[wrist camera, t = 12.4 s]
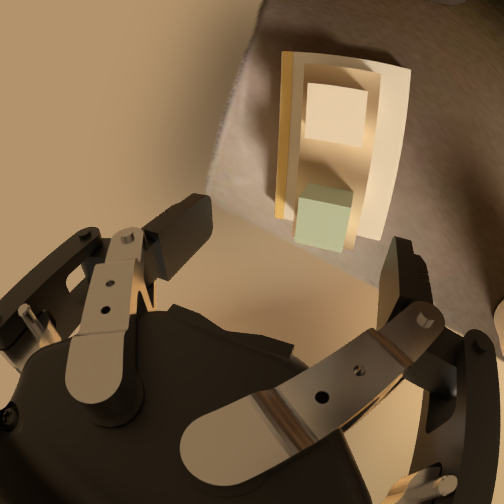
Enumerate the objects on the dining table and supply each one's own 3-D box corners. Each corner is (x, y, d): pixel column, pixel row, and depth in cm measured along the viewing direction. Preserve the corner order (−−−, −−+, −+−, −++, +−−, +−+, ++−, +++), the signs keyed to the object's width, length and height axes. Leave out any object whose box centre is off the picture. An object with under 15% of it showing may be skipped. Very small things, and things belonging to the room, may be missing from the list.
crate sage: (308, 182, 23) (298, 197, 20) (353, 191, 22) (351, 208, 19) (303, 223, 25) (294, 242, 23) (345, 232, 24) (341, 253, 21)
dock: (288, 54, 22) (281, 51, 20) (406, 71, 19) (410, 69, 17) (280, 207, 33) (273, 217, 31) (379, 230, 29) (379, 241, 27)
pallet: (313, 67, 20) (304, 63, 17) (378, 77, 18) (381, 73, 15) (301, 218, 29) (291, 236, 26) (355, 230, 28) (352, 250, 25)
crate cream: (316, 84, 18) (307, 82, 15) (367, 92, 17) (367, 91, 14) (313, 131, 20) (304, 137, 18) (362, 139, 19) (361, 147, 16)
